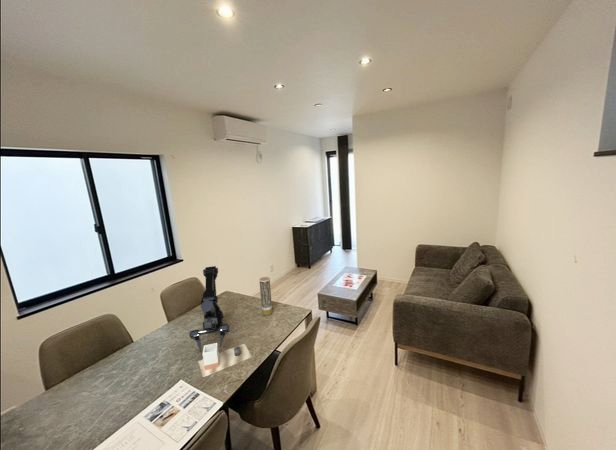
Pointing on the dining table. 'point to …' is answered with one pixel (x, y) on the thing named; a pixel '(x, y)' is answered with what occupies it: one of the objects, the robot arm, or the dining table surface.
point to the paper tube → (265, 295)
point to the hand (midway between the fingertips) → (210, 349)
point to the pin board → (227, 359)
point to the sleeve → (211, 356)
